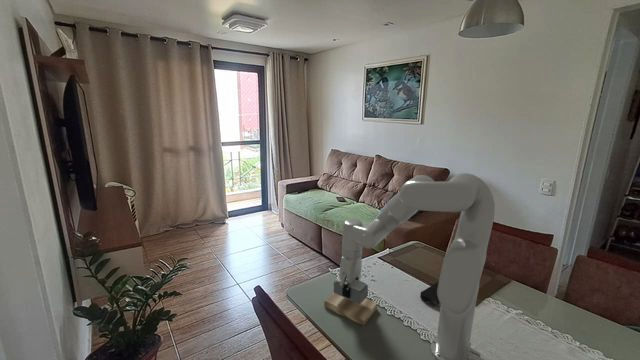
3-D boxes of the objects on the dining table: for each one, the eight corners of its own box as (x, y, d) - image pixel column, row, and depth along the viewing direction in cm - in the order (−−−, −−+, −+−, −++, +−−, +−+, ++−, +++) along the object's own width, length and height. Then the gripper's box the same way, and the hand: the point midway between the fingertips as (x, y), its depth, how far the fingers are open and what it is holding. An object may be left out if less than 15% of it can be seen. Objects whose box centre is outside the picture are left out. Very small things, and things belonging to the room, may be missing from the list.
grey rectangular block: (341, 285, 121) (341, 273, 119) (367, 296, 114) (368, 283, 113) (333, 292, 116) (333, 279, 115) (360, 304, 109) (360, 291, 108)
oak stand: (376, 309, 116) (377, 302, 115) (364, 325, 107) (364, 318, 106) (338, 293, 126) (338, 287, 125) (324, 307, 117) (324, 300, 117)
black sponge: (436, 310, 116) (437, 302, 115) (417, 299, 122) (418, 291, 122) (457, 294, 125) (458, 287, 124) (439, 285, 132) (440, 278, 131)
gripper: (354, 240, 119) (352, 278, 124) (331, 257, 106) (330, 300, 110) (370, 245, 115) (368, 285, 120) (349, 264, 101) (347, 308, 106)
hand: (350, 291), depth 115 cm, fingers closed on grey rectangular block, 6 cm apart
